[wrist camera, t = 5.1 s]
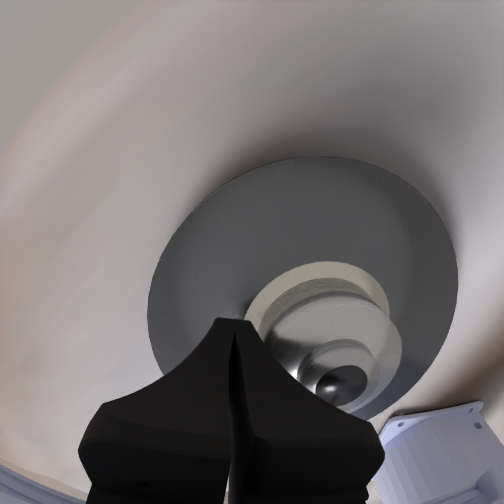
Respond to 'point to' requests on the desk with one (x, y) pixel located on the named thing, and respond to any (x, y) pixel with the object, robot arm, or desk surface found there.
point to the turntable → (308, 258)
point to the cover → (333, 341)
